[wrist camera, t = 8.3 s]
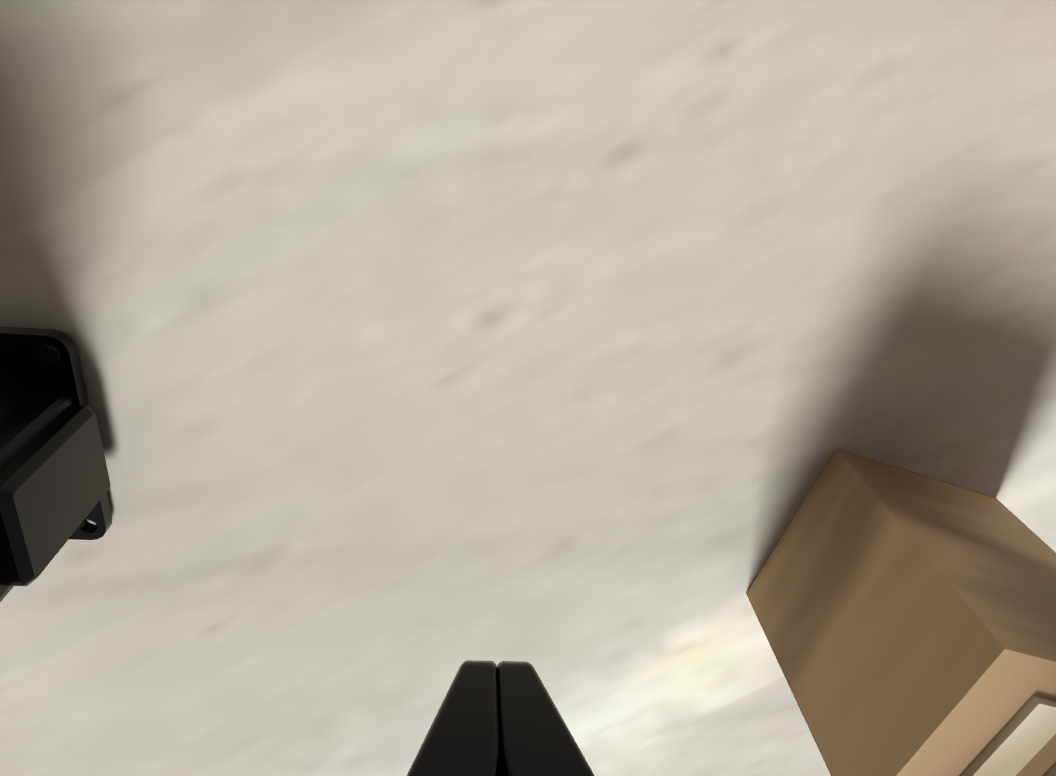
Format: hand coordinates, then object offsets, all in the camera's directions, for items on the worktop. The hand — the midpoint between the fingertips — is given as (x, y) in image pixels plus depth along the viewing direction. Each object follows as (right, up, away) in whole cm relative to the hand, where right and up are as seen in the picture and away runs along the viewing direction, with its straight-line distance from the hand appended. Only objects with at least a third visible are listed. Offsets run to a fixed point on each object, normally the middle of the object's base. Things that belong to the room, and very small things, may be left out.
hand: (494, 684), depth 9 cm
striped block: (+12, -2, +15) cm, 19 cm away
